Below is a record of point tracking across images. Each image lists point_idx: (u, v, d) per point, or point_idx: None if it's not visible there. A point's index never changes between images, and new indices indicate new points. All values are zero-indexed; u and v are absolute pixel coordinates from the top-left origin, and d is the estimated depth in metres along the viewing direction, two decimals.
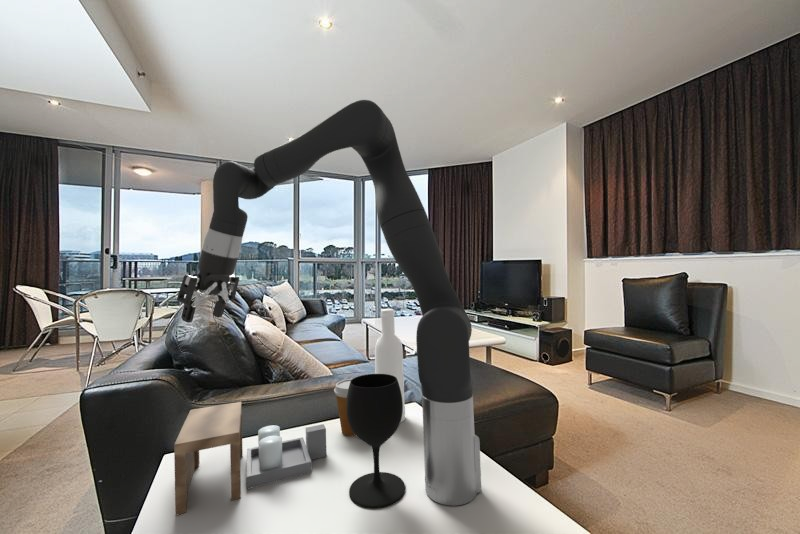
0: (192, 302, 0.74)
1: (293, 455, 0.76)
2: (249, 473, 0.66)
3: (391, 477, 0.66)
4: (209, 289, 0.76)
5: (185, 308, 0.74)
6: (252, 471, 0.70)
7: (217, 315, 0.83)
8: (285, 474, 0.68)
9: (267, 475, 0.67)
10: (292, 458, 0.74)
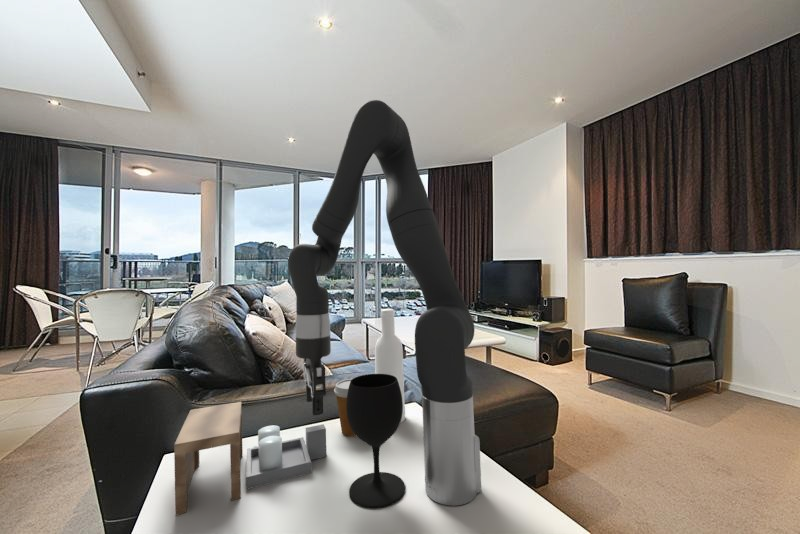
0: None
1: (293, 455, 0.76)
2: (249, 473, 0.66)
3: (391, 477, 0.66)
4: None
5: (316, 401, 0.72)
6: (252, 471, 0.70)
7: None
8: (285, 474, 0.68)
9: (267, 475, 0.67)
10: (292, 458, 0.74)
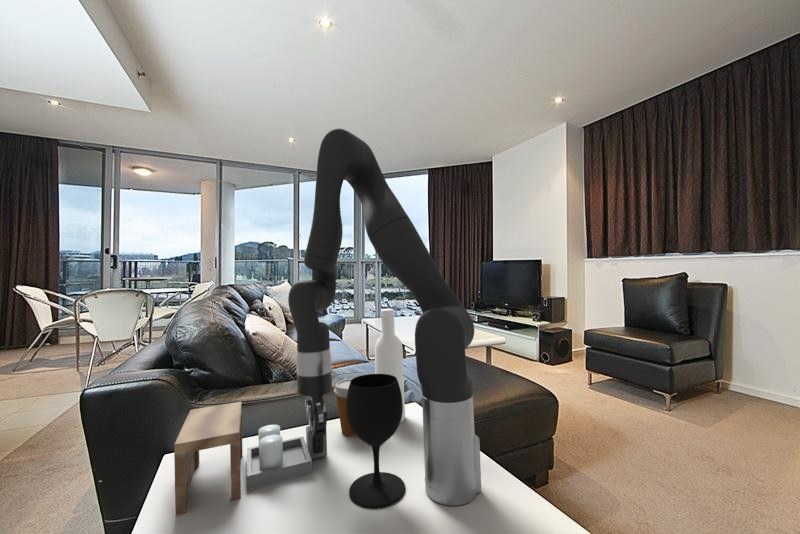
0: None
1: (293, 454, 0.75)
2: (249, 472, 0.66)
3: (391, 477, 0.66)
4: None
5: (317, 440, 0.74)
6: (252, 470, 0.70)
7: None
8: (286, 473, 0.68)
9: (267, 474, 0.66)
10: (293, 457, 0.74)
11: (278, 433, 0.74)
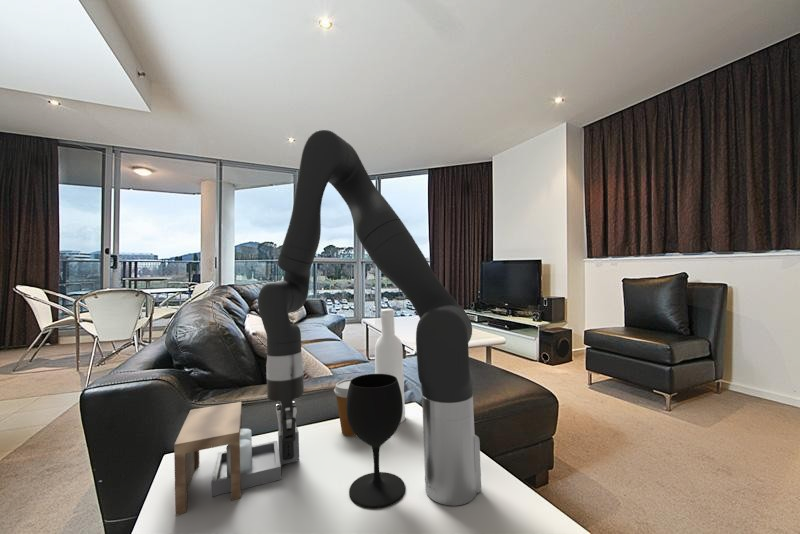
0: None
1: (265, 459, 0.74)
2: (215, 478, 0.64)
3: (391, 477, 0.66)
4: None
5: (286, 446, 0.72)
6: (220, 476, 0.68)
7: None
8: (253, 479, 0.66)
9: None
10: (264, 462, 0.72)
11: (249, 437, 0.73)
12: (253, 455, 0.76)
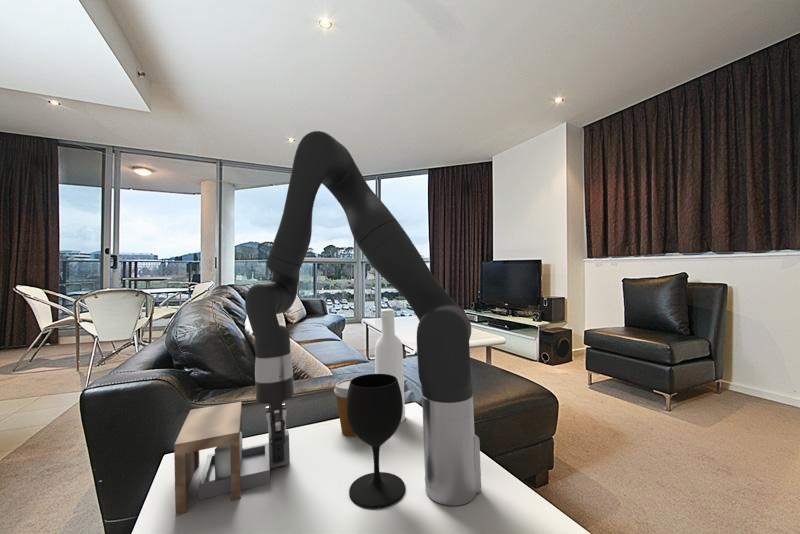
0: None
1: (255, 462, 0.73)
2: (202, 481, 0.64)
3: (391, 477, 0.66)
4: None
5: (276, 449, 0.71)
6: (208, 479, 0.67)
7: None
8: (241, 483, 0.65)
9: (221, 484, 0.64)
10: (253, 465, 0.71)
11: None
12: (244, 458, 0.75)
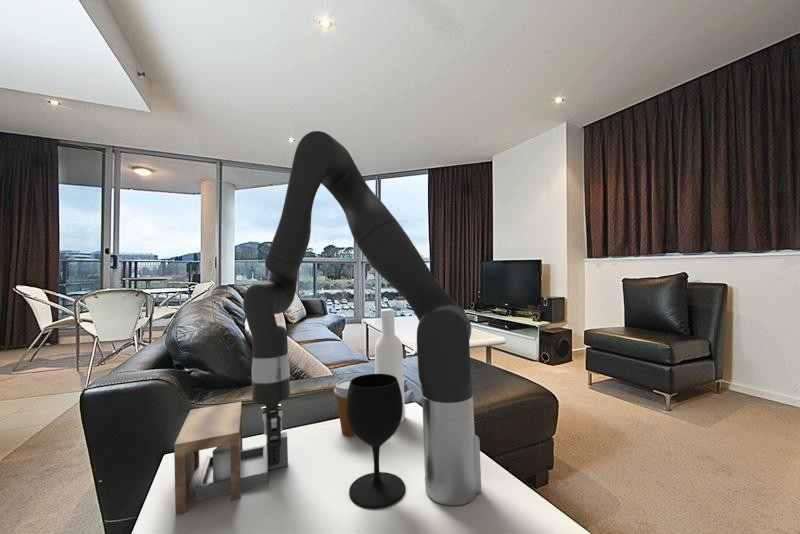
0: None
1: (253, 464, 0.73)
2: (200, 484, 0.64)
3: (391, 477, 0.66)
4: (281, 418, 0.72)
5: (272, 451, 0.69)
6: (206, 481, 0.67)
7: None
8: None
9: (219, 486, 0.64)
10: (252, 467, 0.71)
11: None
12: (242, 459, 0.75)
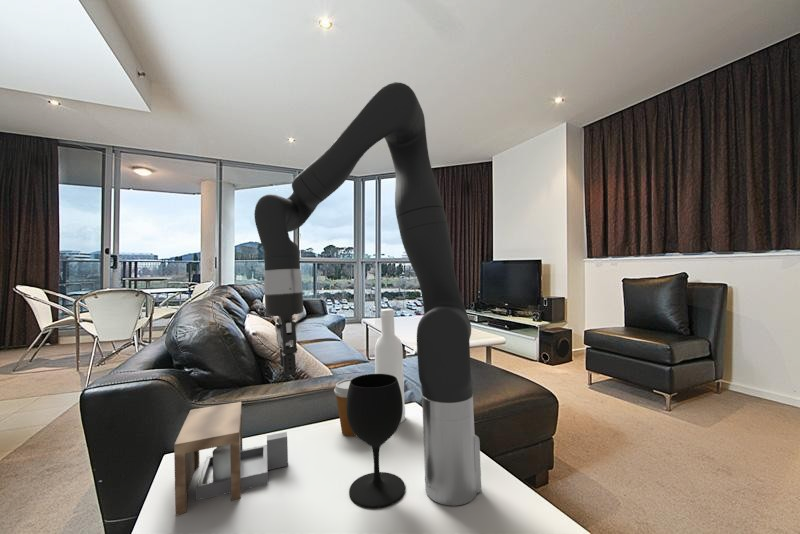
0: None
1: (253, 464, 0.73)
2: (200, 483, 0.64)
3: (391, 477, 0.66)
4: None
5: (288, 360, 0.67)
6: (206, 481, 0.67)
7: None
8: None
9: (219, 486, 0.64)
10: (252, 467, 0.71)
11: None
12: (242, 459, 0.75)
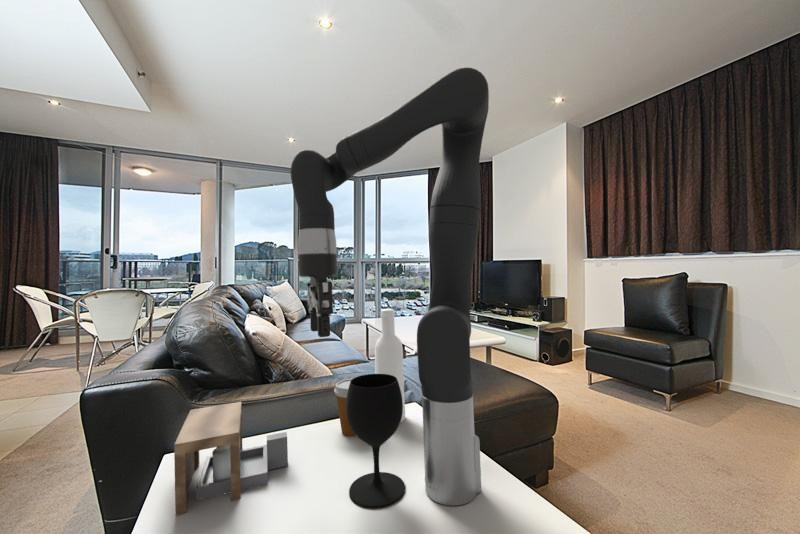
0: None
1: (253, 464, 0.73)
2: (200, 484, 0.64)
3: (391, 477, 0.66)
4: None
5: (323, 321, 0.64)
6: (206, 481, 0.67)
7: (318, 328, 0.73)
8: None
9: (219, 486, 0.64)
10: (252, 467, 0.71)
11: None
12: (242, 459, 0.75)
